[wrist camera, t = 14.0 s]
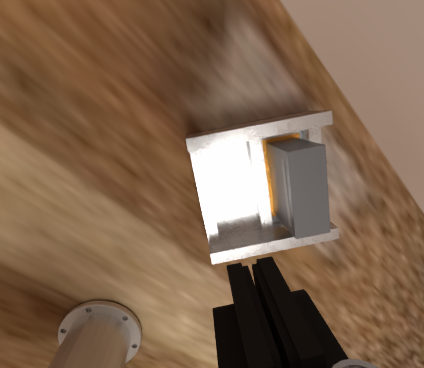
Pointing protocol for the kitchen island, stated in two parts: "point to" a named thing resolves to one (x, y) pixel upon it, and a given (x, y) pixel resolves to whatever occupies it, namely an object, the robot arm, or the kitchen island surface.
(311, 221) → the panel
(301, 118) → the rack
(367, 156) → the kitchen island surface
